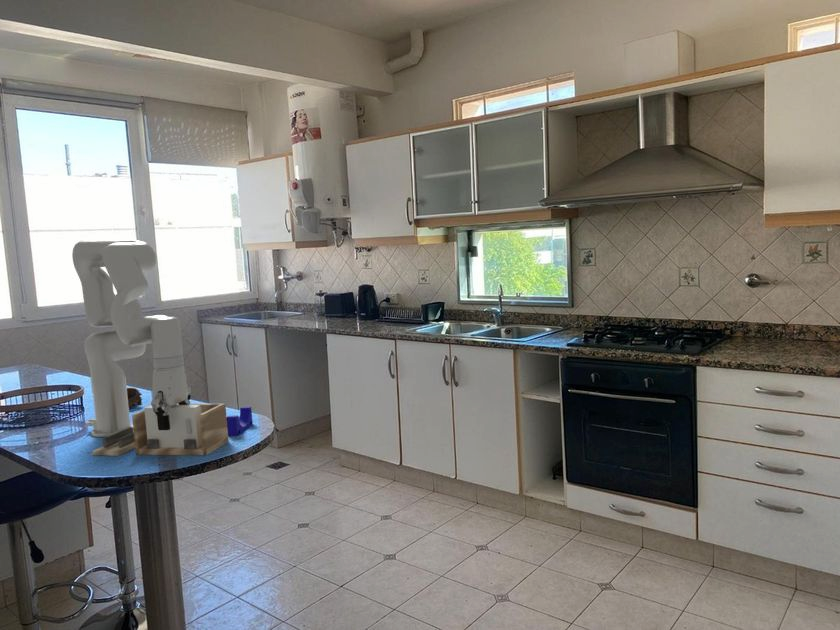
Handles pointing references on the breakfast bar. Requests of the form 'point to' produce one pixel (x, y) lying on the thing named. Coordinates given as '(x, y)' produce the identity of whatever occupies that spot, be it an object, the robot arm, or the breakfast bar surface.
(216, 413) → the cabinet
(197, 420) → the door
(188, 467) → the breakfast bar surface
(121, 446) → the door stand
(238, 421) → the cable clip
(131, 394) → the pottery mug
